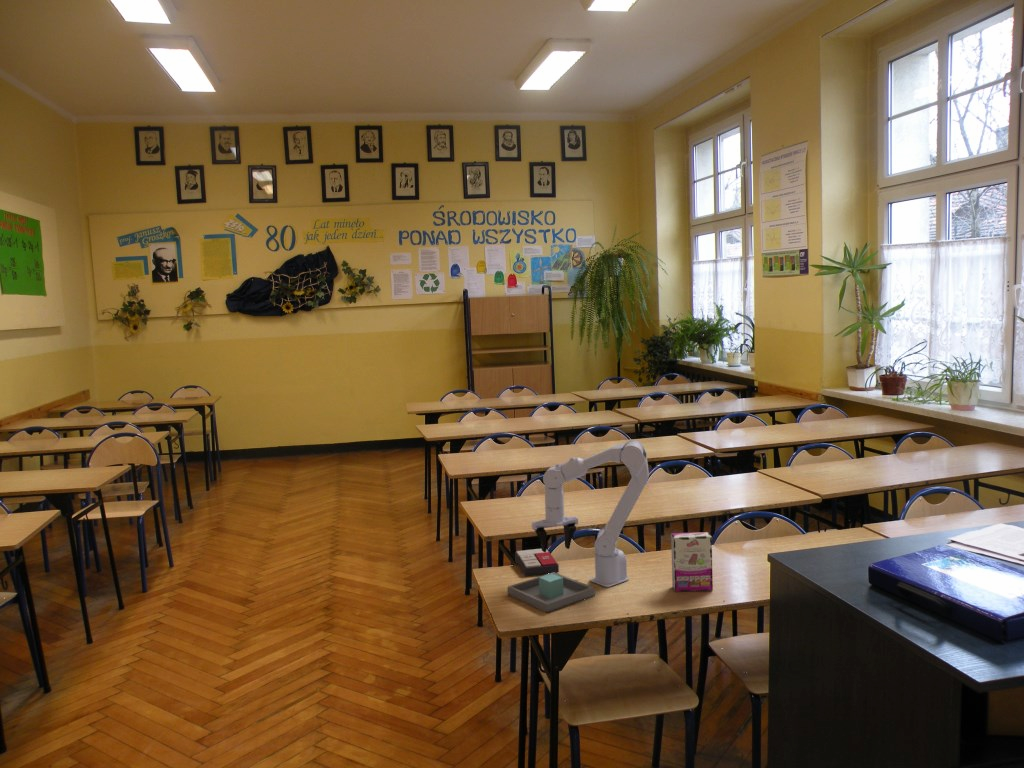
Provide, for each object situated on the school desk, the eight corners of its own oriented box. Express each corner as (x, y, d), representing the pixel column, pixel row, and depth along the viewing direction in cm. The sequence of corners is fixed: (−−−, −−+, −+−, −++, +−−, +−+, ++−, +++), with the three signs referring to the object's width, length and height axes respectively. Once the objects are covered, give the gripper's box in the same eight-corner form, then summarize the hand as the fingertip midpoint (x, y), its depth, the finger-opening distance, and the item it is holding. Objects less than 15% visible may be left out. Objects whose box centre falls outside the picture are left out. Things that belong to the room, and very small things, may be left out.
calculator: (525, 566, 240) (514, 549, 254) (525, 579, 240) (514, 561, 255) (559, 562, 242) (546, 546, 256) (559, 575, 243) (546, 558, 257)
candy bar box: (708, 585, 228) (708, 531, 226) (713, 591, 223) (712, 536, 221) (671, 586, 228) (670, 532, 226) (674, 592, 223) (673, 537, 221)
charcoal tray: (554, 579, 236) (553, 571, 236) (594, 596, 222) (594, 587, 222) (507, 594, 225) (507, 586, 225) (547, 613, 211) (547, 604, 211)
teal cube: (552, 589, 227) (551, 573, 226) (563, 594, 223) (563, 577, 223) (539, 593, 224) (538, 577, 223) (550, 598, 220) (549, 581, 220)
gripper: (536, 512, 229) (537, 556, 230) (581, 506, 233) (582, 550, 234) (528, 506, 235) (530, 549, 237) (572, 501, 240) (573, 543, 241)
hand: (555, 549), depth 236 cm, fingers open, 7 cm apart
